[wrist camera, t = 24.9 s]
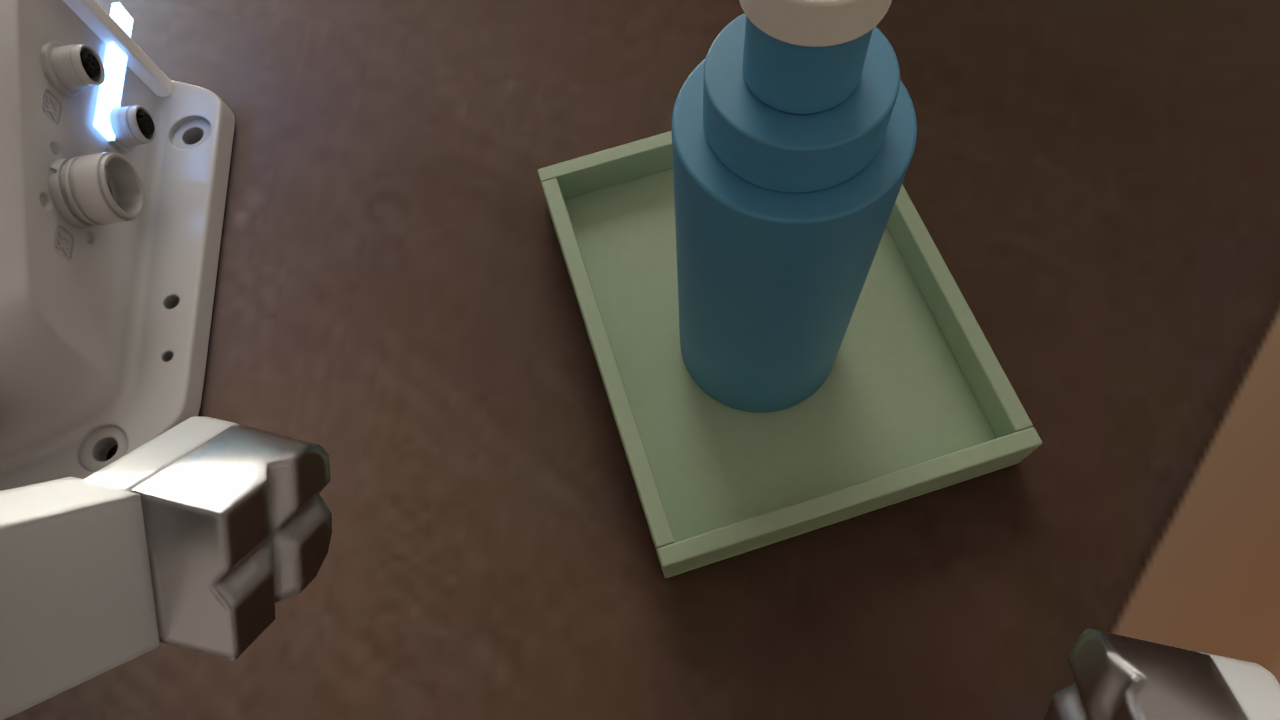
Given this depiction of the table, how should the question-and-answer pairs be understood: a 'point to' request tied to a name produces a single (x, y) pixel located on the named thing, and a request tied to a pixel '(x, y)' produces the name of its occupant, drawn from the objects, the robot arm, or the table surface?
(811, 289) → the bottle
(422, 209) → the table surface
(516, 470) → the table surface
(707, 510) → the tray
